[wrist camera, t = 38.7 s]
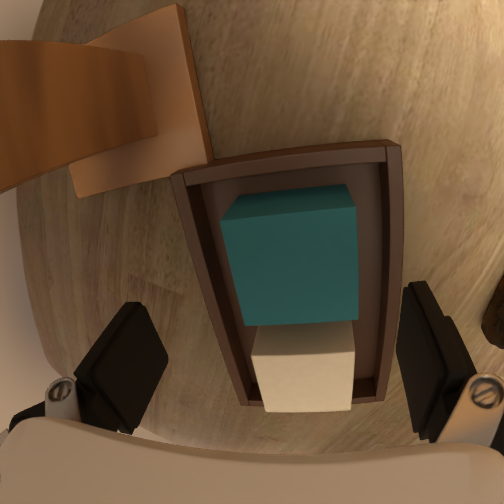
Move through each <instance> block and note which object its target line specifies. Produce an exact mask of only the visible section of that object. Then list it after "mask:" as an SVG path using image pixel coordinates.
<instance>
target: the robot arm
mask: <svg viewBox="0 0 504 504" xmlns="http://www.w3.org/2000/svg"><path fill="white" fill-rule="evenodd" d="M396 354H397V359H398V363H399V367H400V371H401V375H402V379H403V383H404V388H405V392H406V397H407V402H408V407H409V412H410V417H411V422H412V427H413V431H414V433H417V432H419V438H420V440H425V439H429V443H428V444H418V445H411V446H403V447H394V448H387V449H379V450H370V451H359V452H346V453H331V454H303V455H282V454H254V453H238V452H227V451H217V450H208V449H200V448H193V447H186V446H179V445H173V444H168V443H162V442H156V441H152V440H147V439H142V438H138V437H133V436H129V435H132V433H133V431H134V429H135V428H137V427H138V426H139V424H140V422H141V419H142V417H143V415H144V413H145V411H146V409H147V406H148V404H149V402H150V400H151V398H152V396H153V394H154V391H155V389H156V387H157V385H158V383H159V381H160V379H161V377H162V374H163V372H164V370H165V368H166V366H167V364H168V354H167V352H166V350H165V348H164V346H163V344H162V342H161V340H160V338H159V335H158V333H157V331H156V329H155V327H154V325H153V322H152V320H151V318H150V316H149V313H148V311H147V309H146V307H145V306H143V305H142V304H141V303H140V302H126V303H125V304H124V305H123V306H122V307H121V309H120V310H119V311H118V312H117V314H116V315H115V316H114V318H113V319H112V320H111V322H110V323H109V324H108V326H107V327H106V328H105V330H104V331H103V332H102V334H101V335H100V337H99V338H98V339H97V341H96V342H95V343H94V345H93V346H92V348H91V349H90V350H89V352H88V353H87V355H86V356H85V357H84V359H83V360H82V362H81V363H80V364H79V366H78V367H77V369H76V370H75V372H74V373H73V374H74V375H75V376H76V378H77V380H76V382H75V381H74V380H73V379H72V378H70V377H62V378H59V379H57V380H55V381H54V382H53V383H51V384H50V386H49V387H48V388H47V391H46V393H45V401H43V402H41V403H39V404H37V405H34V406H32V407H30V408H28V409H26V410H24V411H21V412H19V413H18V414H16V415H14V417H13V418H12V420H11V422H10V425H9V430H8V429H6V430H4V431H3V432H2V433H0V504H504V381H503V380H502V379H501V378H500V377H499V376H497V375H495V374H493V373H488V372H483V373H477V371H476V369H475V366H474V364H473V362H472V360H471V357H470V355H469V353H468V351H467V349H466V346H465V344H464V342H463V340H462V338H461V336H460V334H459V332H458V330H457V328H456V326H455V324H454V322H453V320H452V318H451V317H450V316H444V315H443V313H442V311H441V309H440V307H439V305H438V303H437V301H436V299H435V297H434V295H433V293H432V291H431V290H430V288H429V286H428V284H427V282H426V281H417V282H410V283H409V284H408V287H404V289H403V296H402V306H401V314H400V322H399V329H398V336H397V343H396ZM117 430H119V431H120V432H121V433H126V434H129V435H125V434H121V433H117Z"/></svg>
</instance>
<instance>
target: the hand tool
mask: <svg viewBox="0 0 504 504" xmlns="http://www.w3.org/2000/svg"><path fill="white" fill-rule="evenodd" d="M481 329H482V331H483V333H484V335H485V337H486V339H487V340H488V341H489V343H490V344H493V345H496V346H497V347H499V348H501V349H504V276H503V278H502V280H501V281H500V284H499V286H498V289H497V291H496V293H495V295H494V297H493V299H492V302H491V304H490V306H489V308H488V310H487V313H486V315H485V318H484V320H483V322H482V325H481Z"/></svg>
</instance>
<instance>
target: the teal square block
mask: <svg viewBox="0 0 504 504" xmlns="http://www.w3.org/2000/svg"><path fill="white" fill-rule="evenodd" d="M220 226H221V230H222V234H223V238H224V243H225V247H226V251H227V255H228V260H229V264H230V268H231V272H232V276H233V280H234V284H235V288H236V292H237V296H238V301H239V305H240V309H241V313H242V317H243V320H244V324H245V326H257V325H284V324H304V323H321V322H335V321H348V320H358V317H359V259H358V230H357V212H356V206H355V204H354V201H353V199H352V197H351V195H350V192H349V190H348V188H347V186H346V184H338V185H327V186H317V187H307V188H297V189H288V190H280V191H271V192H263V193H255V194H247V195H240V196H238V197H237V198H236V200H235V201H234V202H233V204H232V205H231V206H230V208H229V209H228V210H227V212H226V213H225V214H224V216H223V217H222V218H221V220H220Z"/></svg>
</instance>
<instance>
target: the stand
mask: <svg viewBox="0 0 504 504" xmlns="http://www.w3.org/2000/svg"><path fill="white" fill-rule="evenodd" d="M213 160H214V156H213V151H212V147H211V142H210V137H209V133H208V128H207V123H206V118H205V114H204V109H203V104H202V99H201V94H200V89H199V84H198V79H197V75H196V70H195V65H194V60H193V54H192V49H191V44H190V39H189V34H188V29H187V24H186V19H185V13H184V8H182V7H181V6H179V5H178V4H176V3H175V4H172V5H169V6H166V7H164V8H161V9H159V10H156V11H153V12H151V13H149V14H146V15H144V16H141V17H139V18H137V19H135V20H132V21H130V22H128V23H126V24H124V25H122V26H119V27H117V28H115V29H113V30H111V31H109V32H107V33H105V34H104V35H102V36H100V37H98V38H96V39H94V40H92V41H91V42H89V43H87V44H85V45H81V44H72V43H62V42H48V41H26V40H1V41H0V194H2V193H4V192H6V191H8V190H10V189H12V188H14V187H17V186H19V185H21V184H23V183H25V182H28V181H30V180H32V179H35V178H37V177H39V176H42V175H44V174H46V173H49V172H51V171H54V170H56V169H59V168H61V167H64V166H67V165H68V167H69V171H70V175H71V178H72V182H73V185H74V189H75V192H76V195H77V198H78V199H80V198H84V197H88V196H91V195H95V194H99V193H102V192H106V191H110V190H114V189H118V188H122V187H126V186H130V185H134V184H138V183H143V182H147V181H151V180H156V179H160V178H165V177H170V174H172V173H174V172H176V171H178V170H179V169H184V168H188V167H193V166H198V165H204V164H208V163H210V162H212V161H213Z"/></svg>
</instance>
